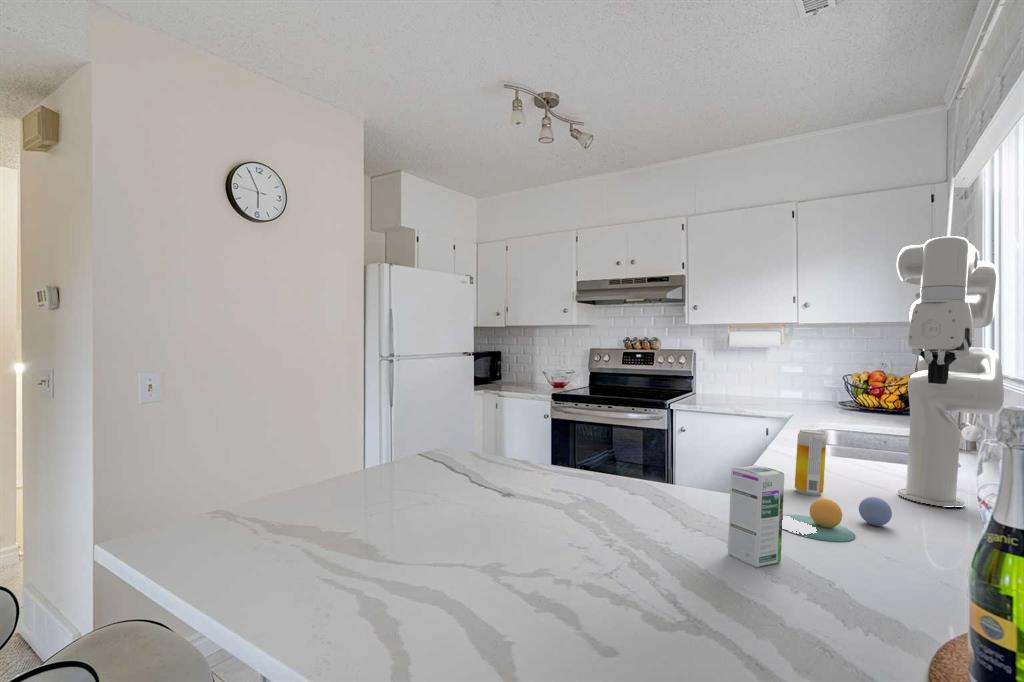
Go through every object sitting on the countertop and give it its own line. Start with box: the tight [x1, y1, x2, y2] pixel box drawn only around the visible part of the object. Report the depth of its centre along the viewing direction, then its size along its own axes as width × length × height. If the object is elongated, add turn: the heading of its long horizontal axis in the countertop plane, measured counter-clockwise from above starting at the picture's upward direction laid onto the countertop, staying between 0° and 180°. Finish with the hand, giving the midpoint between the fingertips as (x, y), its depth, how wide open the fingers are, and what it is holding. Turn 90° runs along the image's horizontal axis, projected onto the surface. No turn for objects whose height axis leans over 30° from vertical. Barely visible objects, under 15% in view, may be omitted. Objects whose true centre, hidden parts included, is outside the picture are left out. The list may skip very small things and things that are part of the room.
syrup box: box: [727, 464, 785, 568], centre depth 85 cm, size 6×6×14 cm
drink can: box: [794, 429, 827, 497], centre depth 128 cm, size 6×6×15 cm
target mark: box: [785, 514, 857, 543], centre depth 102 cm, size 14×14×1 cm
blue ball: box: [858, 496, 893, 527], centre depth 106 cm, size 6×6×6 cm
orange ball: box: [809, 498, 843, 528], centre depth 102 cm, size 6×6×6 cm
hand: (937, 383), depth 110 cm, fingers closed
